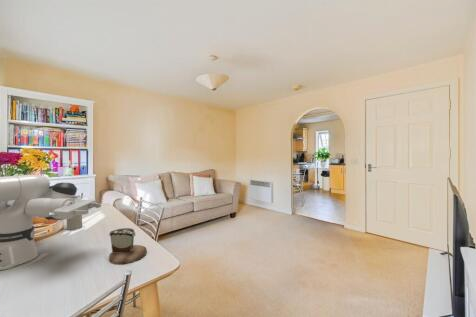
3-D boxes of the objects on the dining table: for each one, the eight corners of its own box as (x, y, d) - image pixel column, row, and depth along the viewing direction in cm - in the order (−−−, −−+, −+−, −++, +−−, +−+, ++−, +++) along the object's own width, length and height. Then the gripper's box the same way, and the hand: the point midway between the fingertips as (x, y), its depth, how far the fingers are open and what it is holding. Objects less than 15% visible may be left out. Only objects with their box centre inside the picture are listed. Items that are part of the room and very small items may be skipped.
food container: (140, 247, 109) (140, 228, 109) (133, 253, 103) (133, 232, 102) (117, 246, 110) (117, 227, 110) (109, 252, 104) (109, 231, 104)
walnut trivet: (106, 267, 94) (106, 263, 94) (111, 251, 108) (111, 248, 108) (146, 259, 100) (146, 256, 100) (146, 245, 115) (146, 242, 115)
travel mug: (74, 230, 137) (73, 202, 137) (63, 229, 139) (62, 201, 138) (85, 226, 145) (84, 199, 144) (75, 225, 147) (74, 198, 146)
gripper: (44, 208, 91) (78, 209, 91) (79, 195, 111) (106, 196, 112) (45, 222, 91) (78, 223, 92) (79, 208, 112) (106, 208, 112)
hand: (94, 208), depth 102 cm, fingers open, 8 cm apart
